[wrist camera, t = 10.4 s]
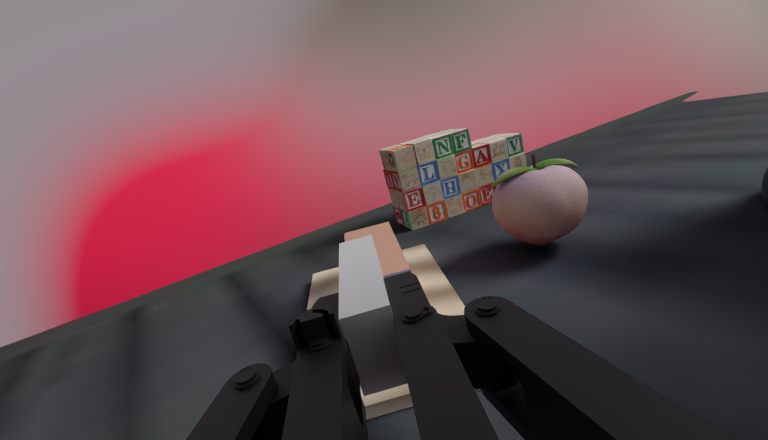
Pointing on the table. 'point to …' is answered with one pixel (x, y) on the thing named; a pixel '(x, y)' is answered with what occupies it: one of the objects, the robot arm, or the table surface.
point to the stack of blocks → (446, 173)
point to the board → (438, 297)
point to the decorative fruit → (540, 201)
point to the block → (384, 248)
